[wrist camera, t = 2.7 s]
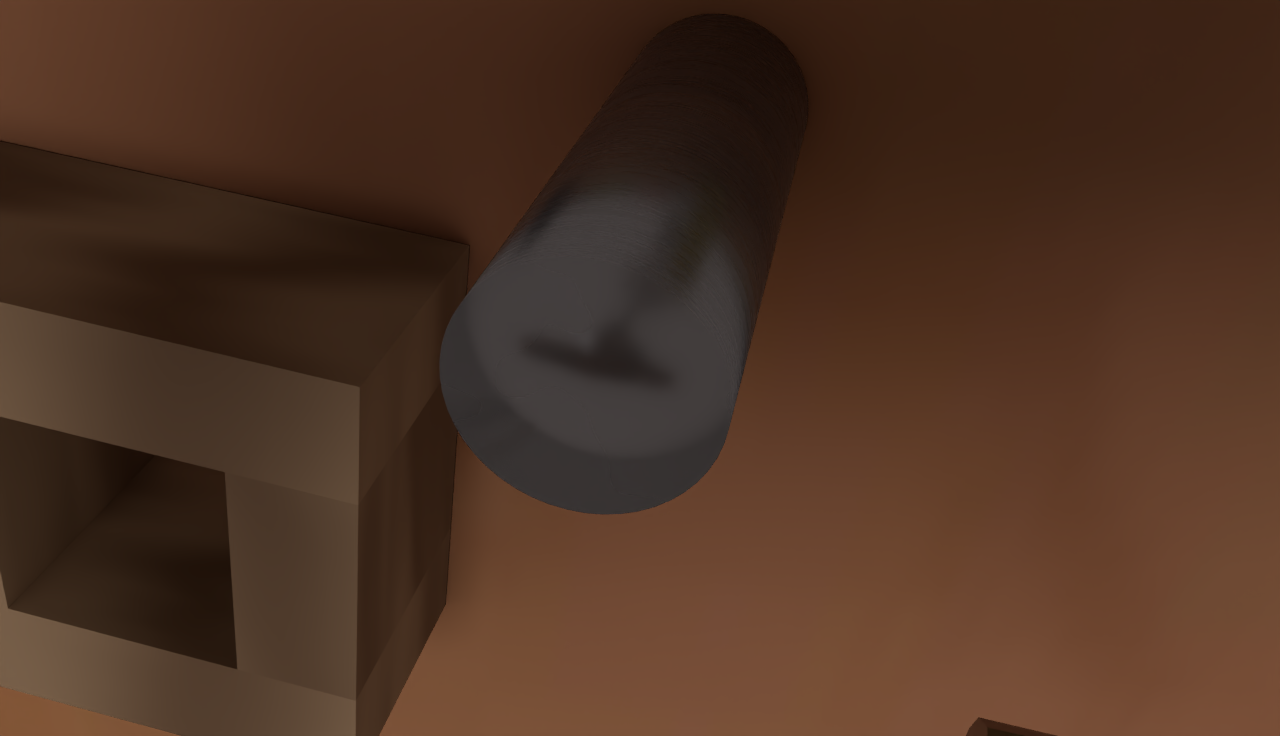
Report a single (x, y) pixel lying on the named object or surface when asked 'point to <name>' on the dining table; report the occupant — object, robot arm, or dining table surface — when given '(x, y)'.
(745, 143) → the peg
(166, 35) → the dining table surface
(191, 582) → the block
